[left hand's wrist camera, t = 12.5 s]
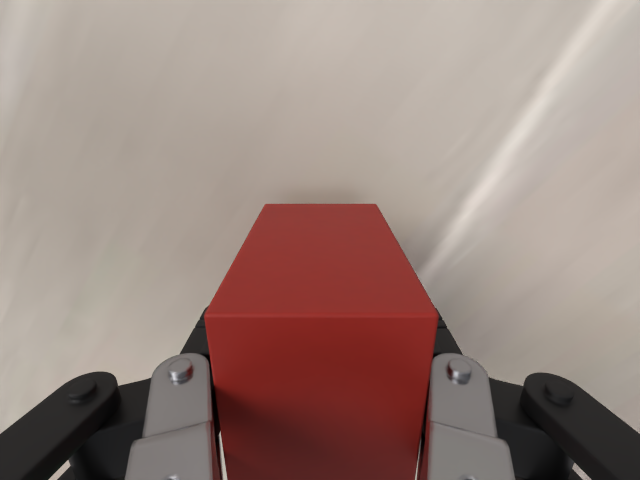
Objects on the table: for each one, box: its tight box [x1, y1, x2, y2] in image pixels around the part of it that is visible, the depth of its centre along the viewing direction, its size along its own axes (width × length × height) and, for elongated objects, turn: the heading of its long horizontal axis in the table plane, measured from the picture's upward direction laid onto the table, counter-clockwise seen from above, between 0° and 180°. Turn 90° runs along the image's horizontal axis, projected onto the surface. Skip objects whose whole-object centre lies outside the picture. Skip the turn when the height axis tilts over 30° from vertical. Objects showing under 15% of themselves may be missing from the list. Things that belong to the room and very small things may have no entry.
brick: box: [204, 204, 439, 480], centre depth 12 cm, size 5×6×8 cm
